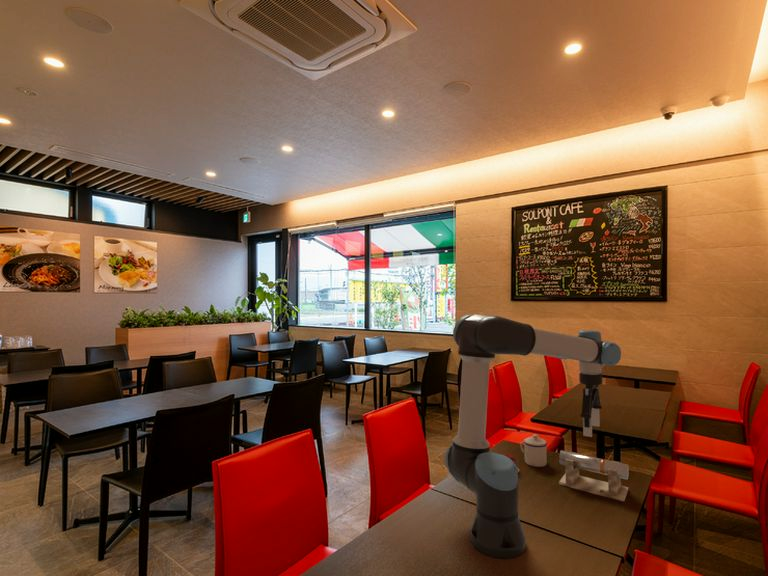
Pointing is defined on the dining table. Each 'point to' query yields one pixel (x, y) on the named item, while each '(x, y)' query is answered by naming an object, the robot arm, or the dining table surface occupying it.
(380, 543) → the dining table surface
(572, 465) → the collar stand
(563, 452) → the steel tube
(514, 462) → the apple
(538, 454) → the teacup with lid
